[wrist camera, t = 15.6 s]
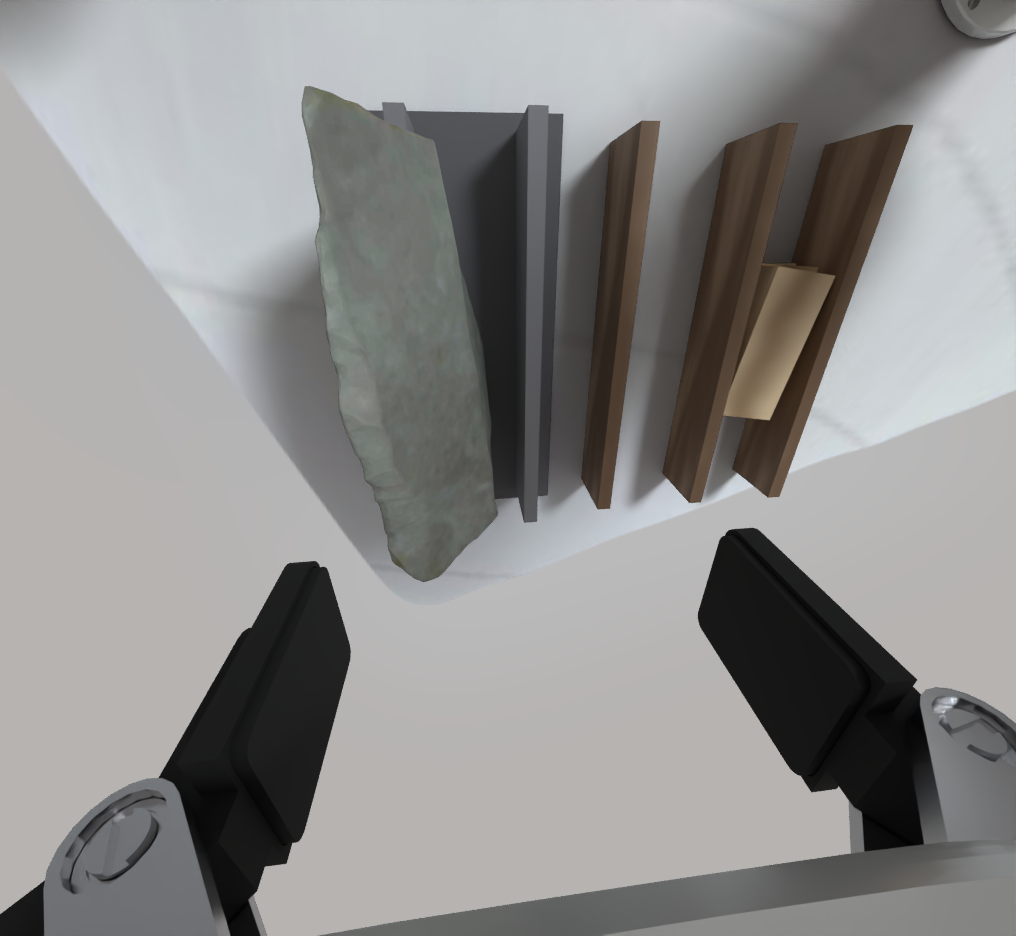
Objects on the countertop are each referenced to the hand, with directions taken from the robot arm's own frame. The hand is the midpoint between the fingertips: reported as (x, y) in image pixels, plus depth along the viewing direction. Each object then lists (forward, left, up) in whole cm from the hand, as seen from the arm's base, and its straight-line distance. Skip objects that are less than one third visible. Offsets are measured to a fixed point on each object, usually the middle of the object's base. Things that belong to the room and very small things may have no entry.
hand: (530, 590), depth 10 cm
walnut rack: (-20, 0, -30) cm, 36 cm away
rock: (0, 0, -30) cm, 30 cm away
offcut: (-24, 0, -27) cm, 36 cm away
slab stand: (0, 0, -30) cm, 30 cm away
